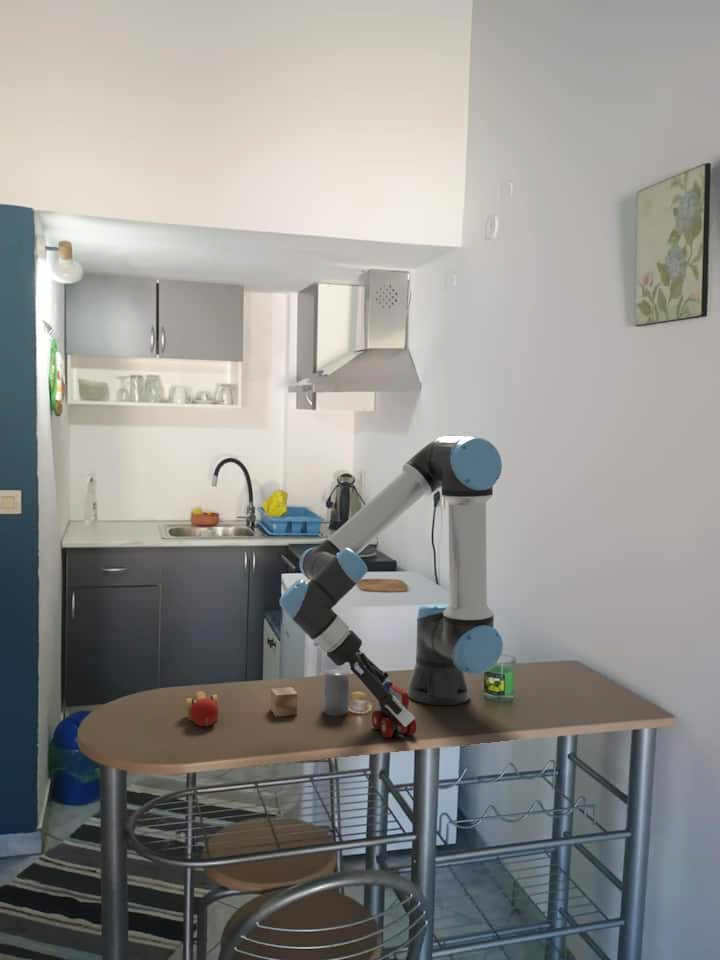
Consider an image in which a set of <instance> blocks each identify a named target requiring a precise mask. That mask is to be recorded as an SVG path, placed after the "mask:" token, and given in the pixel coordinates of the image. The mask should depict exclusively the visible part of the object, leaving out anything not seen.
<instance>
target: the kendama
mask: <svg viewBox="0 0 720 960" xmlns="http://www.w3.org/2000/svg"><path fill="white" fill-rule="evenodd" d="M218 699H219V698H218V695H217V694H212V695H211V696H210V697H209V698H208V697H207V693H205V691H202V690H199V691H196V692H195V694H194V695H193V698H192V697H189V698H188V697H187V698H186V699H185V703H186V710H187V718H188V721H192V722H194V724H195V725H197V726H199V727H203V726H205V727H209V726H211V725H213V724H214V723H215V722H216V721H217V719H218V716H219V715H220V707H219V701H218Z"/></svg>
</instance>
